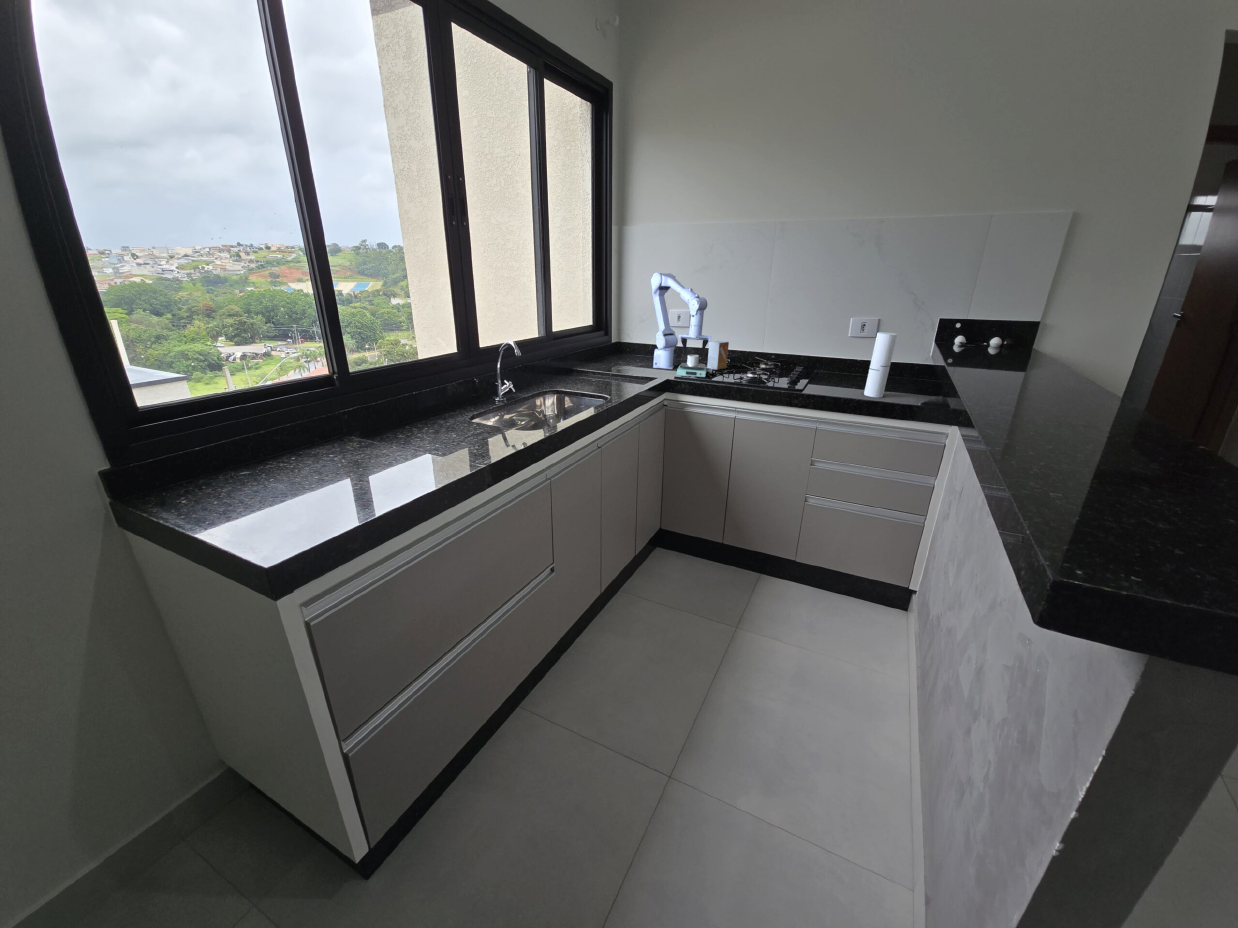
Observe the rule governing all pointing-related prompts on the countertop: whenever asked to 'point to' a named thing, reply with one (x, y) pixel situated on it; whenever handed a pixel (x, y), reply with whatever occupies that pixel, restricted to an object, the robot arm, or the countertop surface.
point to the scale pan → (685, 365)
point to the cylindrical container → (880, 364)
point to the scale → (692, 372)
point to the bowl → (693, 360)
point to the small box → (717, 355)
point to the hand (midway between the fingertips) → (693, 355)
